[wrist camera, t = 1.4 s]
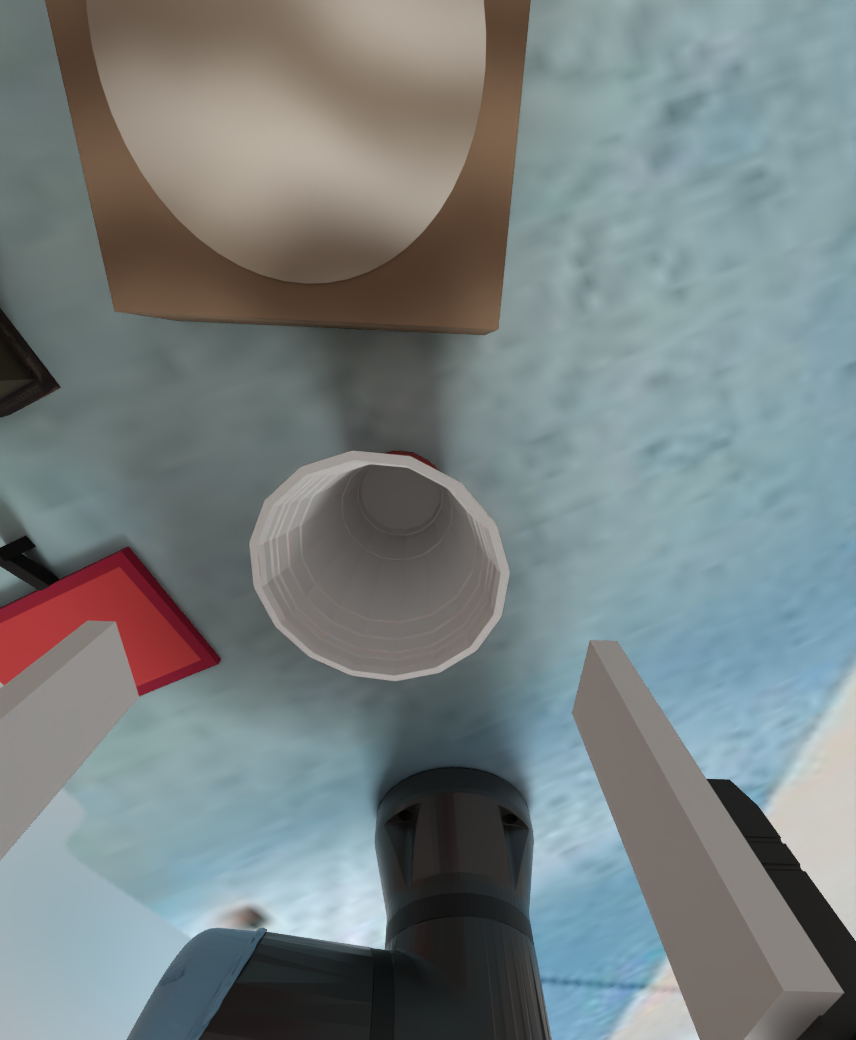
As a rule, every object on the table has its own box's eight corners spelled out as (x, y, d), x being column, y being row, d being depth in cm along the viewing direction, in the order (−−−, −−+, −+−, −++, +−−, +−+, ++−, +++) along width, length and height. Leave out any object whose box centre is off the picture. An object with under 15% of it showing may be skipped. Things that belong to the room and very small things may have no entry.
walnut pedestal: (484, 334, 24) (498, 329, 19) (177, 320, 23) (112, 311, 19) (525, -136, 17) (563, -332, 12) (93, -162, 17) (-43, -372, 12)
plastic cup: (301, 421, 26) (202, 469, 14) (470, 401, 25) (503, 435, 14) (335, 570, 30) (278, 698, 18) (482, 555, 29) (514, 678, 18)
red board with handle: (-192, 646, 33) (-38, 761, 38) (-245, 672, 30) (-72, 791, 35) (97, 499, 28) (225, 651, 34) (65, 514, 26) (209, 677, 31)
